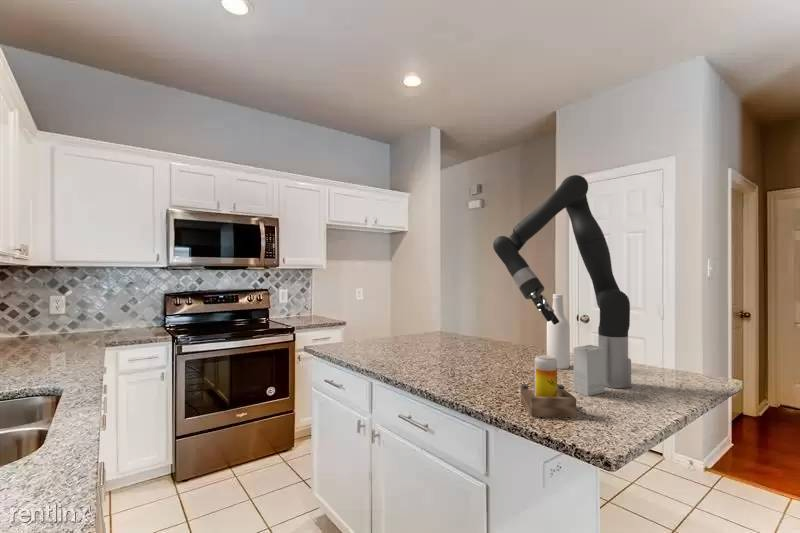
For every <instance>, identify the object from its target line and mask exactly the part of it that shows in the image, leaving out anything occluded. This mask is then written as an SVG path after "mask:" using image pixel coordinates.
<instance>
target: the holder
mask: <svg viewBox="0 0 800 533" xmlns="http://www.w3.org/2000/svg"><path fill="white" fill-rule="evenodd" d="M520 403H522V404H521V405H522V406H523V407H524V409H525V408H526V409H525V410H526V411H527V413H528V414H529V415H530V417H540V418H543V417H544V418H545V417H547V418H548V417H549V418H577V397H575V396H574V395H572V394H571V393H570V392H568V390H566V389H565V385H563V384H561V383H560V384H558V383H557V397H536V396H535V393H533V392H532V391H531V390H530V389H529V386H528V384H527V383H521V385H520Z"/></svg>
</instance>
